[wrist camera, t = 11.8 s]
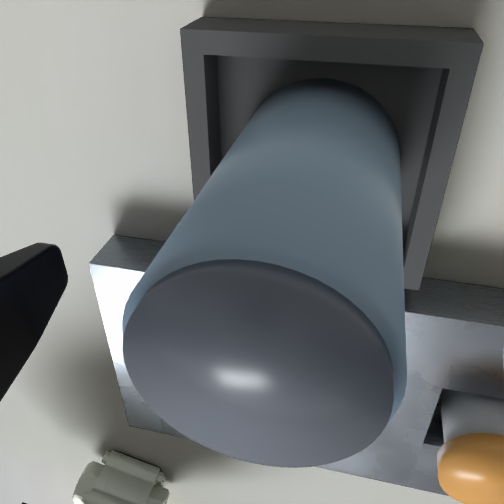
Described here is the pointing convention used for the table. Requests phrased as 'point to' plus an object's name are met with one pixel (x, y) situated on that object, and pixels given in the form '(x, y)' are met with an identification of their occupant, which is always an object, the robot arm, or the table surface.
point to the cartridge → (282, 288)
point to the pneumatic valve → (120, 482)
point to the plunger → (472, 447)
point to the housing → (417, 354)
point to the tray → (344, 69)
